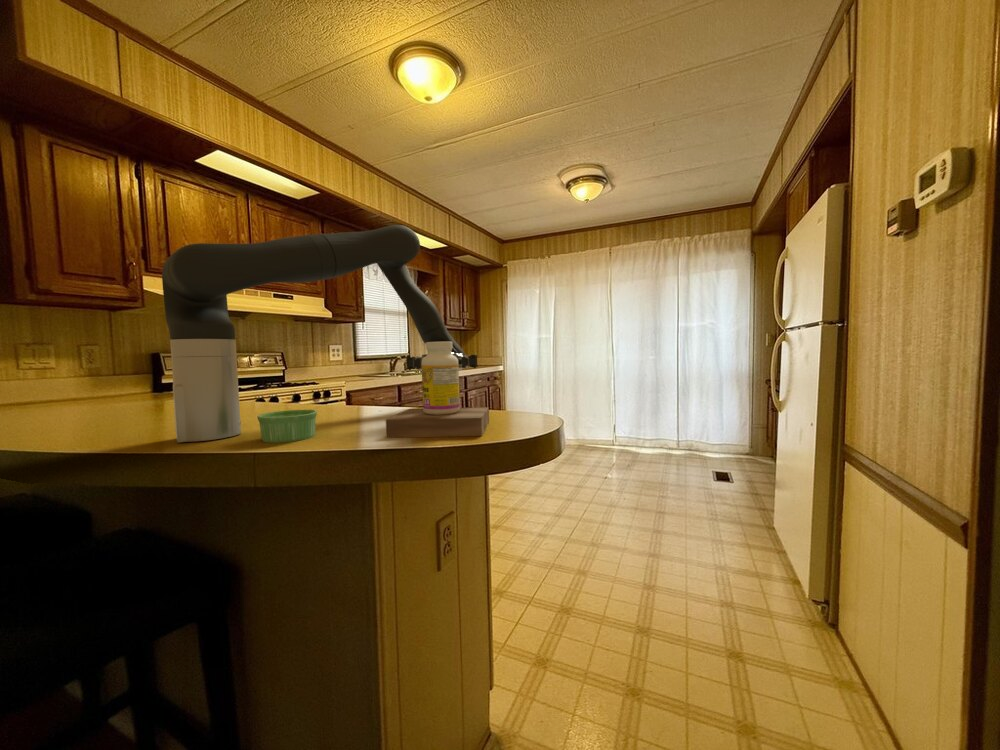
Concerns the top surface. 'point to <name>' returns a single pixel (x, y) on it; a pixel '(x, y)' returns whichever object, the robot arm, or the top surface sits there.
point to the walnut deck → (438, 423)
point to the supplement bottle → (440, 379)
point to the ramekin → (287, 425)
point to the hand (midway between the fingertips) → (441, 362)
